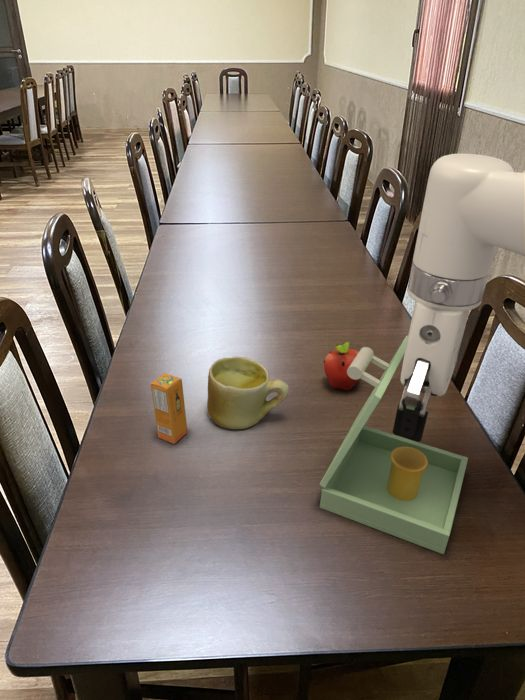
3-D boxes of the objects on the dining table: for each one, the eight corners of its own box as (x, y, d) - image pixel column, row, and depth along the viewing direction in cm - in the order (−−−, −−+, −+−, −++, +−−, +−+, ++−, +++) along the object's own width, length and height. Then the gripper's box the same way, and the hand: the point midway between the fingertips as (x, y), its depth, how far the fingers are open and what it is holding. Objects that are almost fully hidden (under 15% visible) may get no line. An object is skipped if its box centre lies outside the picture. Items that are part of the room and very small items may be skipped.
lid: (412, 337, 68) (378, 319, 69) (381, 398, 57) (341, 375, 58) (360, 422, 78) (331, 405, 79) (324, 488, 67) (291, 467, 68)
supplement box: (170, 425, 82) (165, 370, 77) (188, 433, 81) (184, 378, 75) (155, 437, 80) (149, 382, 74) (173, 445, 78) (169, 389, 73)
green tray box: (463, 475, 74) (468, 457, 73) (443, 554, 63) (449, 536, 61) (354, 440, 80) (357, 423, 78) (319, 507, 69) (321, 489, 67)
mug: (184, 417, 81) (203, 358, 78) (214, 399, 90) (232, 345, 87) (255, 454, 78) (278, 394, 75) (278, 431, 87) (299, 377, 84)
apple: (317, 375, 95) (321, 326, 89) (354, 373, 96) (361, 323, 90) (328, 401, 88) (334, 349, 83) (368, 398, 89) (376, 347, 84)
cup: (427, 493, 70) (435, 462, 67) (403, 507, 68) (410, 476, 65) (401, 472, 73) (408, 441, 71) (377, 485, 71) (383, 454, 68)
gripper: (472, 326, 47) (433, 469, 56) (494, 261, 61) (460, 385, 70) (388, 307, 50) (364, 446, 59) (427, 249, 63) (402, 369, 72)
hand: (416, 413), depth 64 cm, fingers open, 9 cm apart
